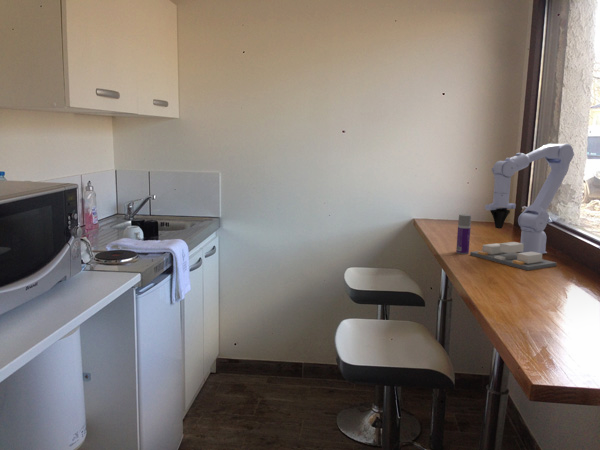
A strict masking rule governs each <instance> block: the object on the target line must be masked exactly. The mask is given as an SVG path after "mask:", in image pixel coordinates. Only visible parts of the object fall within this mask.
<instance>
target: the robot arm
mask: <svg viewBox="0 0 600 450" xmlns="http://www.w3.org/2000/svg"><path fill="white" fill-rule="evenodd" d="M574 156H575V153H574V148H573V147H572V145H571V144H569V143H547V144H543V145H542V146H541V147H538V148H537V149H534V150H532V151H530V152H528V153H526V154H525V153H523V152H517V153H515V155H513V156H511V157H506V158H505V159H504V160H498V161H496V162H495V164H493V167H492V168H491V171H492V174H493V179H494V183H493V196H492V197H493V198H492V203H491V202H490V203H489V204H485V205H484V210H485V211H488V212H489V211H490V213H491V215H492V217H493V223H494V228H495V229H503V227H504V224H505V221H506V219H507V217H508V215H509V214H510V213H511V209H513V210H515V209H516V206H517V204H516V203H513V202H511V203H510V196H511V195H510V194H511V193H510V192H511V181H512V177H513V176H514V175H515V173H517V172H519V171H521V170H524V169H525V168H528V167H529V165H530V163H533V162H535V161H537V160H540V159H543V158H544V159H545V161H546V162H547V164H548V166H549V167H550V168H551V169H550V172H549V173H548V176H547V177H546V180H545V181H544V183H543V184H542V186H541V189H540V190H539V192H538V194H537V195H536V198H535V199H534V200H533V203H532V204H530V205H529V206H527V207H526V208H525V209H524V210H523V212H521V213H520V215H519V216H518V218H517V222H518V226H519V227H520V230H521V233H520V242H519V243H522V244H524V250H523V251H522V252H519V253H524V252H531V251H532V252H537V253H541V254H547V253H548V252H547V251H546V249H547V248H546V246H547V235H546V232H545V231H544V230H545V229H546V227H547V224H548V220H549V218H550V215H549V213H548V211H547V209H549V206H550V204H551V203H552V201H553V199H554V198H555V195H556V194H557V192H558V190H559V189H560V186H561V184H562V183H563V181H564V179H565V177H566V175H567V174H568V172H569V168H570V163H571V162H572V160H573V159H574Z"/></svg>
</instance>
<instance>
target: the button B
mask: <svg viewBox="0 0 600 450" xmlns="http://www.w3.org/2000/svg"><path fill="white" fill-rule="evenodd" d="M499 244H500V251H502V252H506V253H520V252H522V251H523V250H524V244H522V243H520V242H517V241H510V242H509V241H508V242H502V243H499Z"/></svg>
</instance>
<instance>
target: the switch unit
mask: <svg viewBox="0 0 600 450" xmlns="http://www.w3.org/2000/svg"><path fill="white" fill-rule="evenodd" d="M518 253H519V252H515V253H506V252H505V253H498V254H488V253H487V252H483V251H482V250H476V251H475V250H473V251H469V254H470V256H472V257H477V258H479V259H483V260H487V261H491V262H494V263H499V264H503V265H506V266H510V267H514V268H518V269H521V270H525V271H533V270H539V269H546V268H551V267H552V268H553V267H557V263H558V262H557V261H556V262H555V261H552V260H547V259H543V258H542V262H536V263H529V264H527V263H524V262H522V261H518V260H517V257H518Z"/></svg>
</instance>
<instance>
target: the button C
mask: <svg viewBox="0 0 600 450" xmlns="http://www.w3.org/2000/svg"><path fill="white" fill-rule="evenodd" d="M517 253H518V257H517V260H518V261H522V262H524V263H527V264H529V263H536V262H542V259H543V254H544V253H543V254H541V253H537V252H532V251H531V252H524V253H520V252H517Z"/></svg>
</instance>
